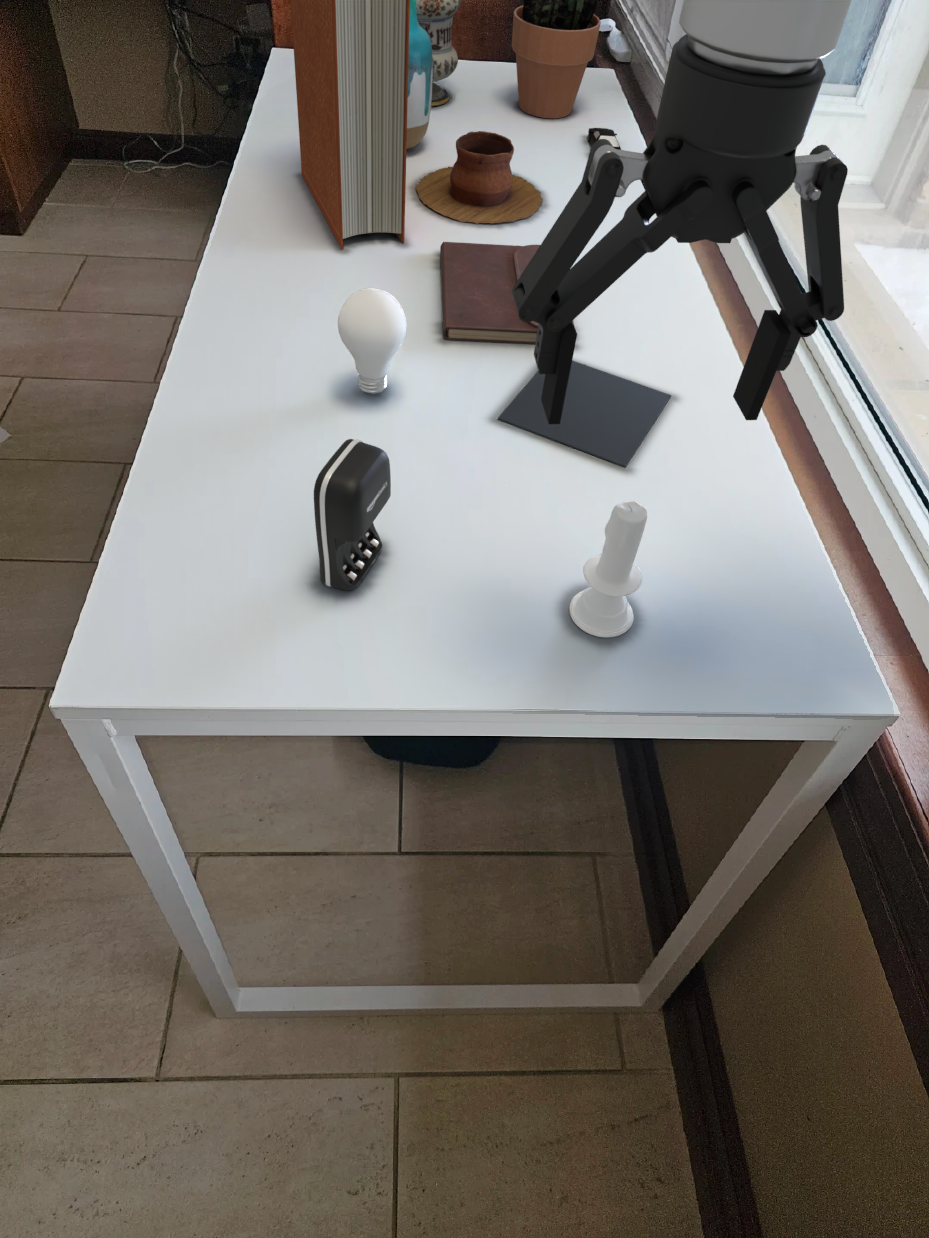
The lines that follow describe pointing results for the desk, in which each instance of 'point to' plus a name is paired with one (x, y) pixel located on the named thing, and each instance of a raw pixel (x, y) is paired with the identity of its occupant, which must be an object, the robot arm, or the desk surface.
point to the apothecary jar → (439, 40)
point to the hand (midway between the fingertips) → (648, 410)
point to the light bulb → (372, 334)
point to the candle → (612, 575)
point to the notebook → (484, 292)
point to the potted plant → (553, 53)
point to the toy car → (603, 136)
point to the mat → (591, 413)
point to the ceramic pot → (480, 183)
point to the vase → (418, 80)
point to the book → (353, 110)
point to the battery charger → (350, 512)
